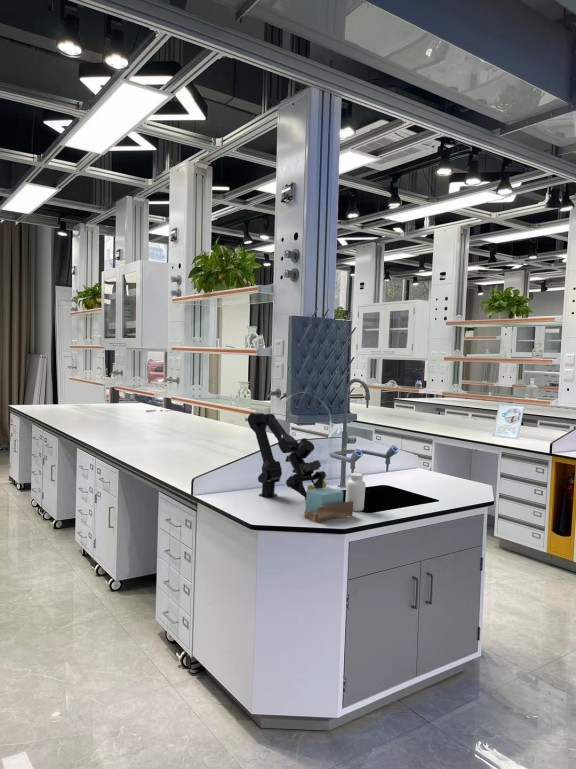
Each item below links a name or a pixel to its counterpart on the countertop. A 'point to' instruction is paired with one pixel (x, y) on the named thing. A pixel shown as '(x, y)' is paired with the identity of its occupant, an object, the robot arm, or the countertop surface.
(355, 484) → the pill bottle
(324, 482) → the ball valve
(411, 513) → the countertop surface
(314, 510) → the crate
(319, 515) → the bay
